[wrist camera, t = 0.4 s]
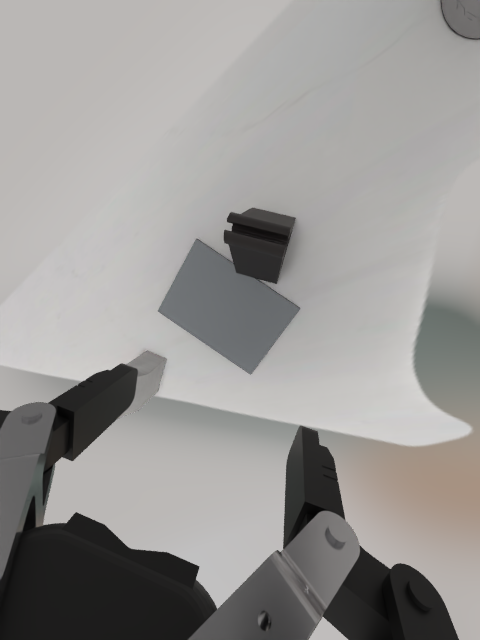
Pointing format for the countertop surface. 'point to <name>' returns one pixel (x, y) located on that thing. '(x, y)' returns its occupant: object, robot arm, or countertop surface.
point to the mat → (226, 307)
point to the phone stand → (259, 242)
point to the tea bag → (146, 379)
